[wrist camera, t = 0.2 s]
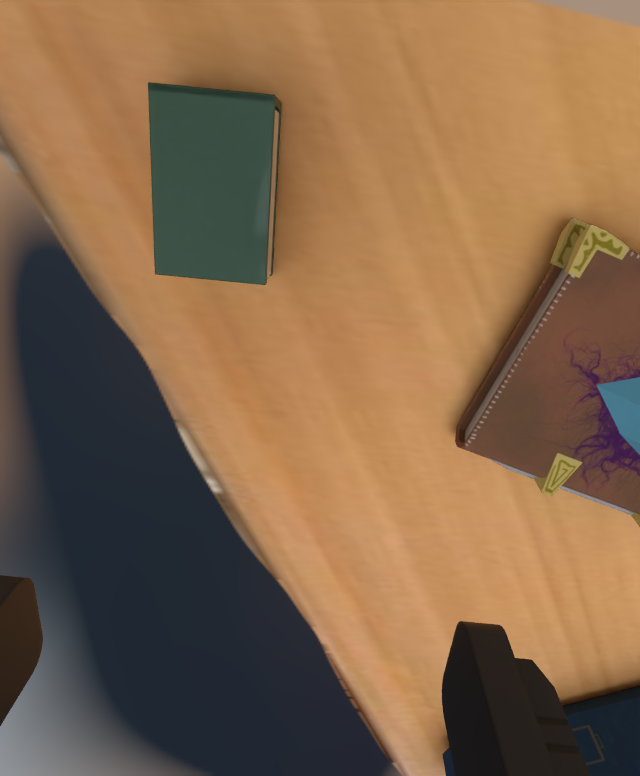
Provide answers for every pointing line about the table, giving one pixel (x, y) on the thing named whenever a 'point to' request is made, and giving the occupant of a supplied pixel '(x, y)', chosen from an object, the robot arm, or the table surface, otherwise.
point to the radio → (602, 734)
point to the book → (570, 378)
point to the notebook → (214, 182)
